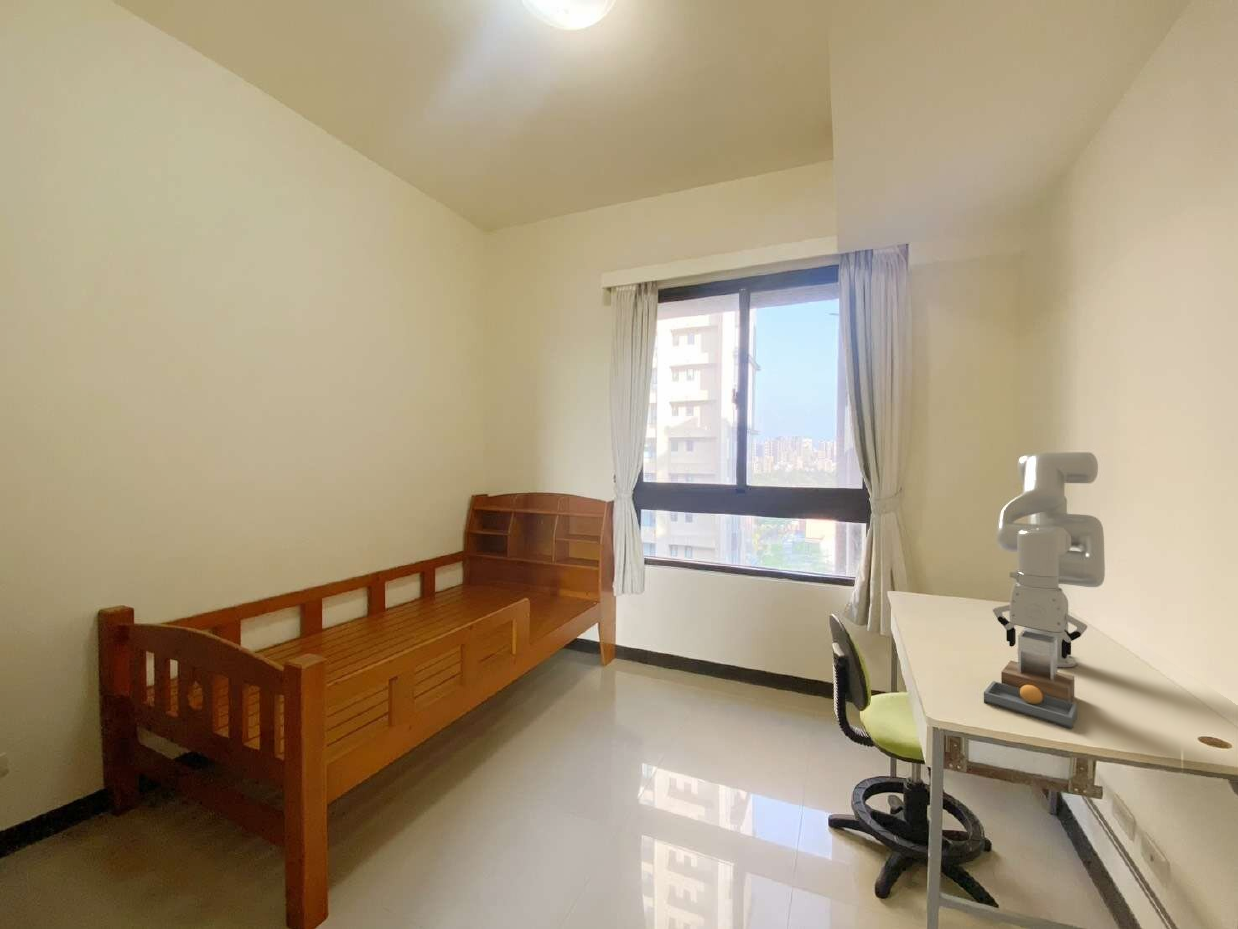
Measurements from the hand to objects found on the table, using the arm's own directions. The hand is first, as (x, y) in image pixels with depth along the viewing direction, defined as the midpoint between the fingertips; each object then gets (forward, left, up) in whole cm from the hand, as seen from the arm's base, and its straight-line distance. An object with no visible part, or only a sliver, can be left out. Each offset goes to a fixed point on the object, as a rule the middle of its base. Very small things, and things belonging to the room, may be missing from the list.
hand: (1037, 650), depth 117 cm
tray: (+11, 0, -10) cm, 15 cm away
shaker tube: (+1, 0, -5) cm, 5 cm away
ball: (+9, 0, -8) cm, 12 cm away
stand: (+1, 0, -10) cm, 10 cm away
